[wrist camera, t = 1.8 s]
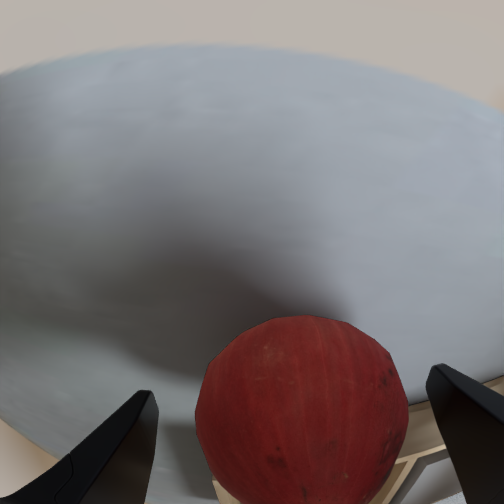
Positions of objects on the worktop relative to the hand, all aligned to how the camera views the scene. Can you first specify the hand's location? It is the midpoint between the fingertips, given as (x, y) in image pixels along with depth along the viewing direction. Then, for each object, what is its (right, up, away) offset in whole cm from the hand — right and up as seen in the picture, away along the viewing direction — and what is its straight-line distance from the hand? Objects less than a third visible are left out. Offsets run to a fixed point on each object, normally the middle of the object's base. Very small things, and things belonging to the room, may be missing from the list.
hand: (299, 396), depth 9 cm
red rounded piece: (0, +1, +3) cm, 3 cm away
